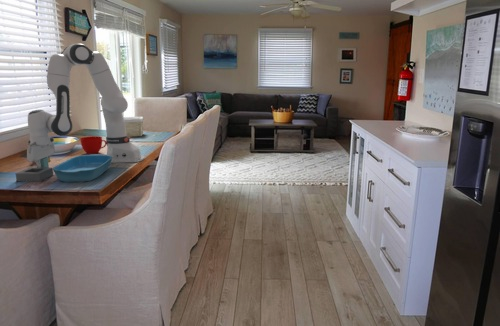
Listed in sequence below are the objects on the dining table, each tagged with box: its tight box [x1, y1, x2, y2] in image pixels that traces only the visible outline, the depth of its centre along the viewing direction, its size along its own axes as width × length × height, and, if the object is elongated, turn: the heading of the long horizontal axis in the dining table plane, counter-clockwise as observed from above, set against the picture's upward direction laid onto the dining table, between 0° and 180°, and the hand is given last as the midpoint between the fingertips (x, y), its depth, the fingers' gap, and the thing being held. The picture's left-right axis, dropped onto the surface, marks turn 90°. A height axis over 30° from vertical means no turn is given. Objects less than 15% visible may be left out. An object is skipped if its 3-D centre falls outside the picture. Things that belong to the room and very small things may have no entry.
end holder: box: [15, 166, 54, 182], centre depth 203 cm, size 12×12×4 cm
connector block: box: [36, 158, 50, 168], centre depth 216 cm, size 4×4×7 cm
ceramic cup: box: [79, 136, 107, 155], centre depth 260 cm, size 13×17×10 cm
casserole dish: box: [52, 153, 112, 183], centre depth 209 cm, size 37×22×7 cm, turn 0°
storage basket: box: [123, 115, 144, 138], centre depth 327 cm, size 24×16×15 cm
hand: (42, 166), depth 217 cm, fingers closed on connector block, 4 cm apart
